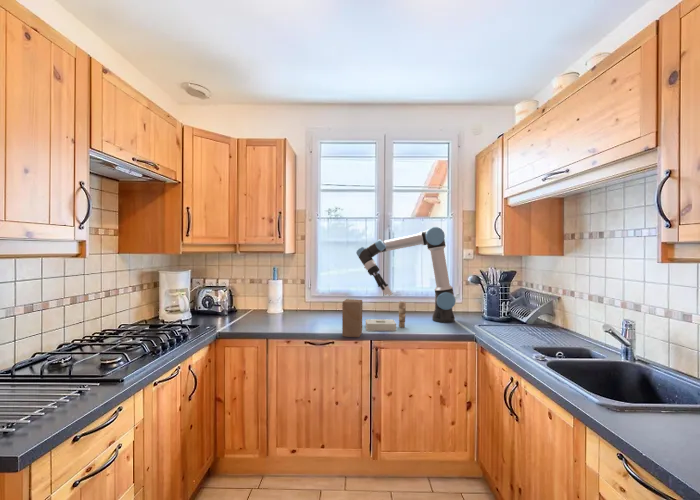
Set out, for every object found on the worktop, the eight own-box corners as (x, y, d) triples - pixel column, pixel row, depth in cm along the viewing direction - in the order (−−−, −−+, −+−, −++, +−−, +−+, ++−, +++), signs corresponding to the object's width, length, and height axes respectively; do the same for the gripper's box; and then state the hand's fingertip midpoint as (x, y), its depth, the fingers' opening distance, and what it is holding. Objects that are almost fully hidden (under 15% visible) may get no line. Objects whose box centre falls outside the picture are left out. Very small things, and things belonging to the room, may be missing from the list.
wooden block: (359, 337, 206) (359, 302, 205) (342, 336, 208) (342, 301, 207) (362, 333, 216) (362, 299, 215) (345, 332, 218) (346, 299, 217)
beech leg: (404, 326, 234) (405, 301, 234) (405, 327, 230) (406, 302, 230) (398, 326, 234) (398, 301, 234) (398, 327, 230) (399, 302, 230)
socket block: (393, 325, 236) (393, 319, 236) (396, 330, 223) (396, 324, 223) (365, 325, 235) (365, 319, 235) (366, 330, 222) (366, 323, 222)
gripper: (371, 272, 257) (387, 298, 251) (362, 269, 234) (380, 297, 228) (380, 266, 256) (396, 292, 250) (372, 262, 233) (390, 290, 226)
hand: (389, 294), depth 239 cm, fingers open, 13 cm apart
